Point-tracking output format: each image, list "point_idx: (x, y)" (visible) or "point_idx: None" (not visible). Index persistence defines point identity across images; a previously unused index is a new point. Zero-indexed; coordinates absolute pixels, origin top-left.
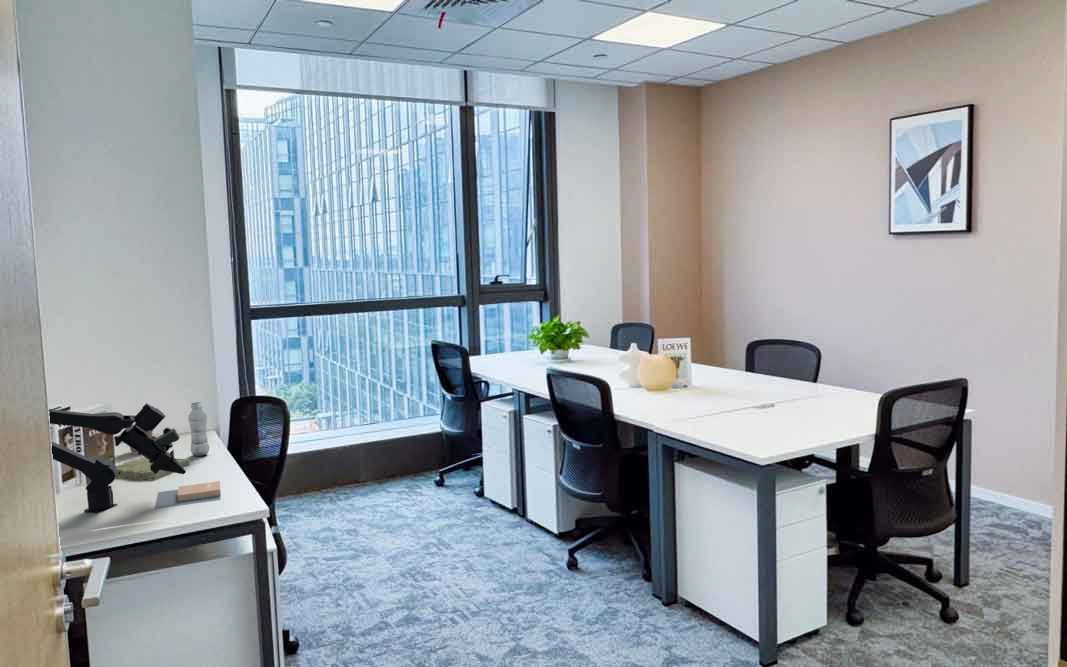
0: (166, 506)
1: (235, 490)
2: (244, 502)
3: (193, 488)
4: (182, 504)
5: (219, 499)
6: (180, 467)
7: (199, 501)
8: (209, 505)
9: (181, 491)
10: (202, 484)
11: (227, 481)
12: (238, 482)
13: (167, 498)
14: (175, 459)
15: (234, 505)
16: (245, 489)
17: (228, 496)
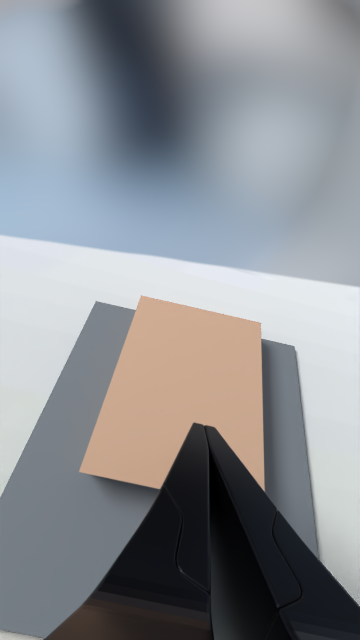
0: None
1: (198, 287)
2: (331, 302)
3: (179, 404)
4: (304, 490)
5: (292, 347)
6: (247, 476)
7: (288, 411)
8: (330, 388)
9: None
10: (139, 356)
11: (72, 275)
12: (115, 259)
13: None
14: (170, 557)
15: (352, 328)
16: (206, 267)
17: (252, 317)
